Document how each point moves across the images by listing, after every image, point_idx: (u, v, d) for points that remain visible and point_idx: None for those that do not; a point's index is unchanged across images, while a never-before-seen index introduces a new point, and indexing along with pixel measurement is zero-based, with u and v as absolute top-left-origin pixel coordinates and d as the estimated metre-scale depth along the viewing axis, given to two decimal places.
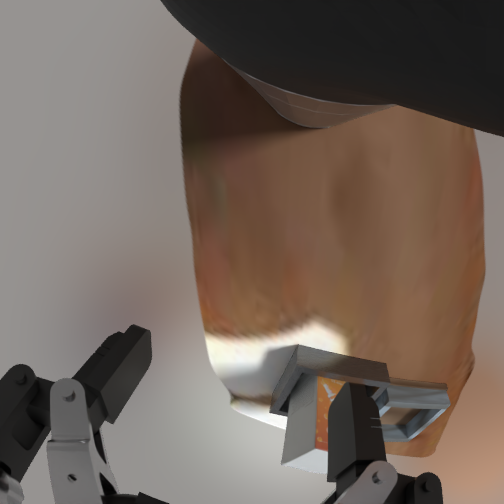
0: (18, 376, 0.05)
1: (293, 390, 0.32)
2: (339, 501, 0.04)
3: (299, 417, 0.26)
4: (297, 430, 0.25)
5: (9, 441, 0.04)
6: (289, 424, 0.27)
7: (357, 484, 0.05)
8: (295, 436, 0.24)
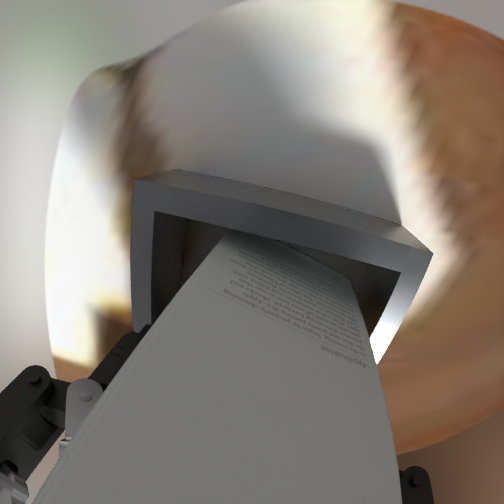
0: (33, 377, 0.05)
1: (247, 239, 0.11)
2: None
3: (285, 359, 0.06)
4: (271, 422, 0.04)
5: (18, 441, 0.04)
6: (197, 317, 0.06)
7: None
8: (251, 451, 0.03)
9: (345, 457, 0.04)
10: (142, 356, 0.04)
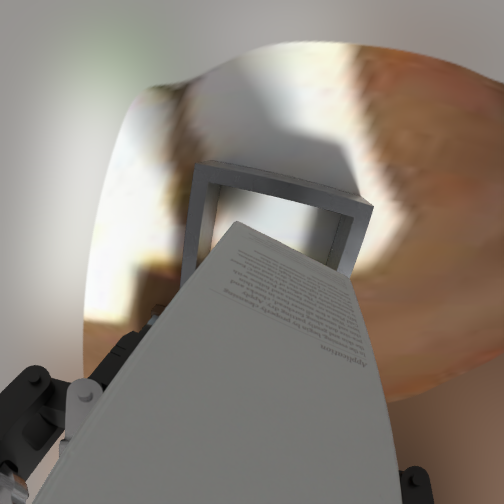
0: (33, 377, 0.05)
1: (247, 239, 0.11)
2: None
3: (285, 358, 0.06)
4: (272, 421, 0.04)
5: (19, 441, 0.04)
6: (198, 317, 0.06)
7: None
8: (252, 450, 0.03)
9: (345, 456, 0.04)
10: (143, 355, 0.04)
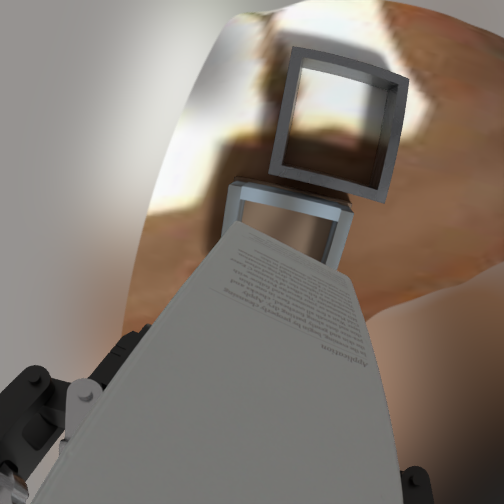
0: (33, 377, 0.05)
1: (247, 238, 0.11)
2: None
3: (286, 358, 0.06)
4: (272, 421, 0.04)
5: (18, 441, 0.04)
6: (197, 316, 0.06)
7: None
8: (252, 450, 0.03)
9: (346, 456, 0.04)
10: (142, 355, 0.04)
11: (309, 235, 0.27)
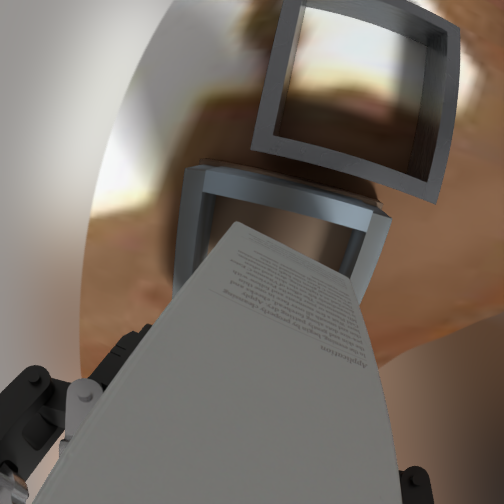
0: (33, 377, 0.05)
1: (247, 239, 0.11)
2: None
3: (285, 359, 0.06)
4: (271, 423, 0.04)
5: (18, 441, 0.04)
6: (197, 317, 0.06)
7: None
8: (251, 451, 0.03)
9: (345, 457, 0.04)
10: (142, 356, 0.04)
11: (315, 251, 0.18)
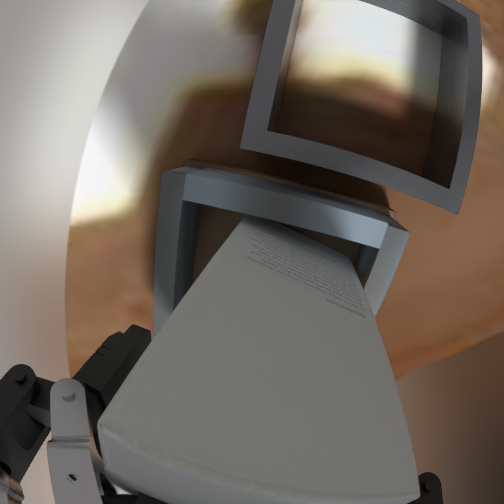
0: (18, 376, 0.05)
1: (260, 223, 0.13)
2: None
3: (299, 304, 0.08)
4: (293, 342, 0.06)
5: (9, 441, 0.04)
6: (230, 273, 0.08)
7: None
8: (280, 359, 0.05)
9: (352, 374, 0.06)
10: (194, 295, 0.06)
11: None
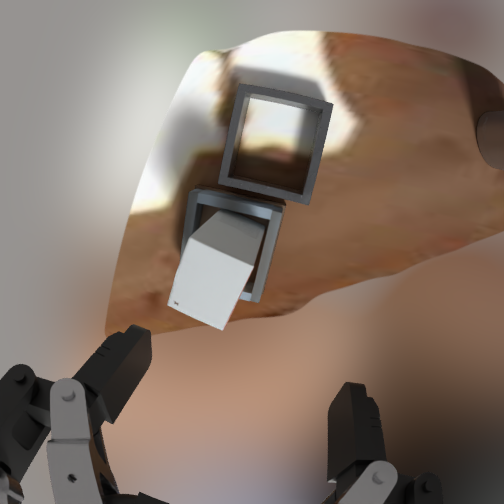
0: (18, 376, 0.05)
1: (226, 211, 0.33)
2: (339, 501, 0.04)
3: (232, 231, 0.28)
4: (227, 236, 0.27)
5: (9, 441, 0.04)
6: (213, 222, 0.28)
7: (357, 484, 0.05)
8: (223, 237, 0.26)
9: (242, 244, 0.26)
10: (204, 225, 0.27)
11: None
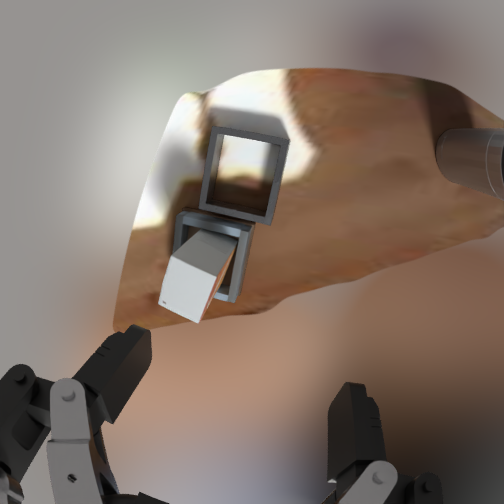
0: (18, 376, 0.05)
1: (206, 230, 0.42)
2: (339, 501, 0.04)
3: (206, 248, 0.37)
4: (201, 253, 0.35)
5: (9, 441, 0.04)
6: (192, 241, 0.37)
7: (357, 484, 0.05)
8: (197, 254, 0.34)
9: (212, 259, 0.35)
10: (184, 244, 0.35)
11: None
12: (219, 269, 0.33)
